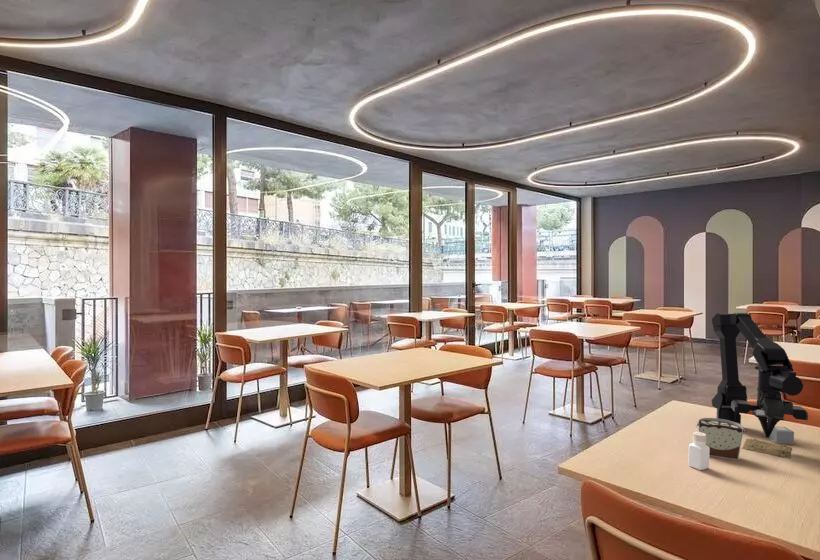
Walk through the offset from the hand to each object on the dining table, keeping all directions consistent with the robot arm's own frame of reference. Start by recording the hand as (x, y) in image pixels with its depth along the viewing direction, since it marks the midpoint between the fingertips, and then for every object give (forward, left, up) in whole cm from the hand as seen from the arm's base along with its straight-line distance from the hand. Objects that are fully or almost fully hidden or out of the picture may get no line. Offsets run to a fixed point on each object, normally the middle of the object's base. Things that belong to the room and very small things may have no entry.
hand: (767, 436), depth 155 cm
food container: (-15, -12, -4) cm, 20 cm away
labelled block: (+6, +10, -4) cm, 12 cm away
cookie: (0, 0, -4) cm, 4 cm away
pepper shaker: (-22, -26, -4) cm, 34 cm away
